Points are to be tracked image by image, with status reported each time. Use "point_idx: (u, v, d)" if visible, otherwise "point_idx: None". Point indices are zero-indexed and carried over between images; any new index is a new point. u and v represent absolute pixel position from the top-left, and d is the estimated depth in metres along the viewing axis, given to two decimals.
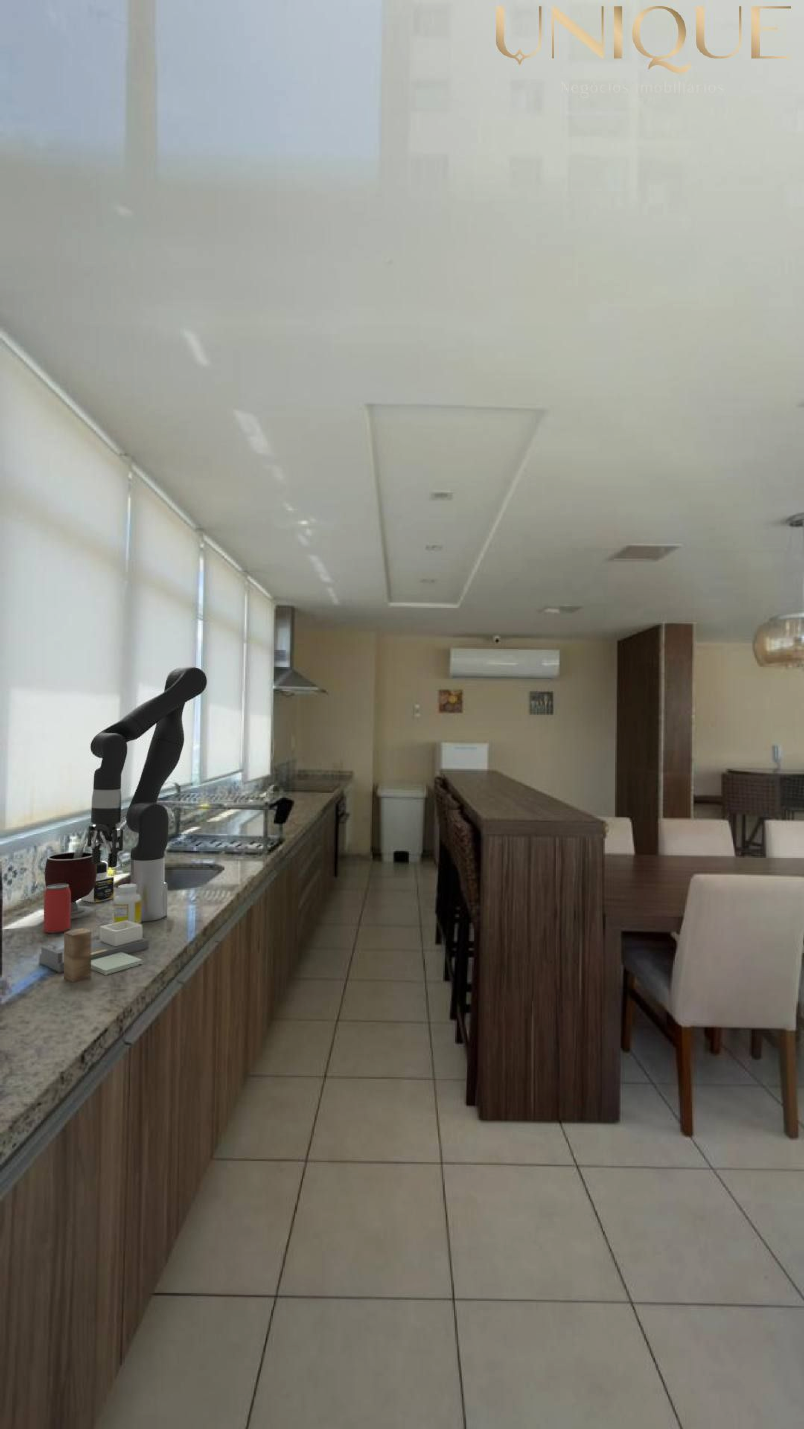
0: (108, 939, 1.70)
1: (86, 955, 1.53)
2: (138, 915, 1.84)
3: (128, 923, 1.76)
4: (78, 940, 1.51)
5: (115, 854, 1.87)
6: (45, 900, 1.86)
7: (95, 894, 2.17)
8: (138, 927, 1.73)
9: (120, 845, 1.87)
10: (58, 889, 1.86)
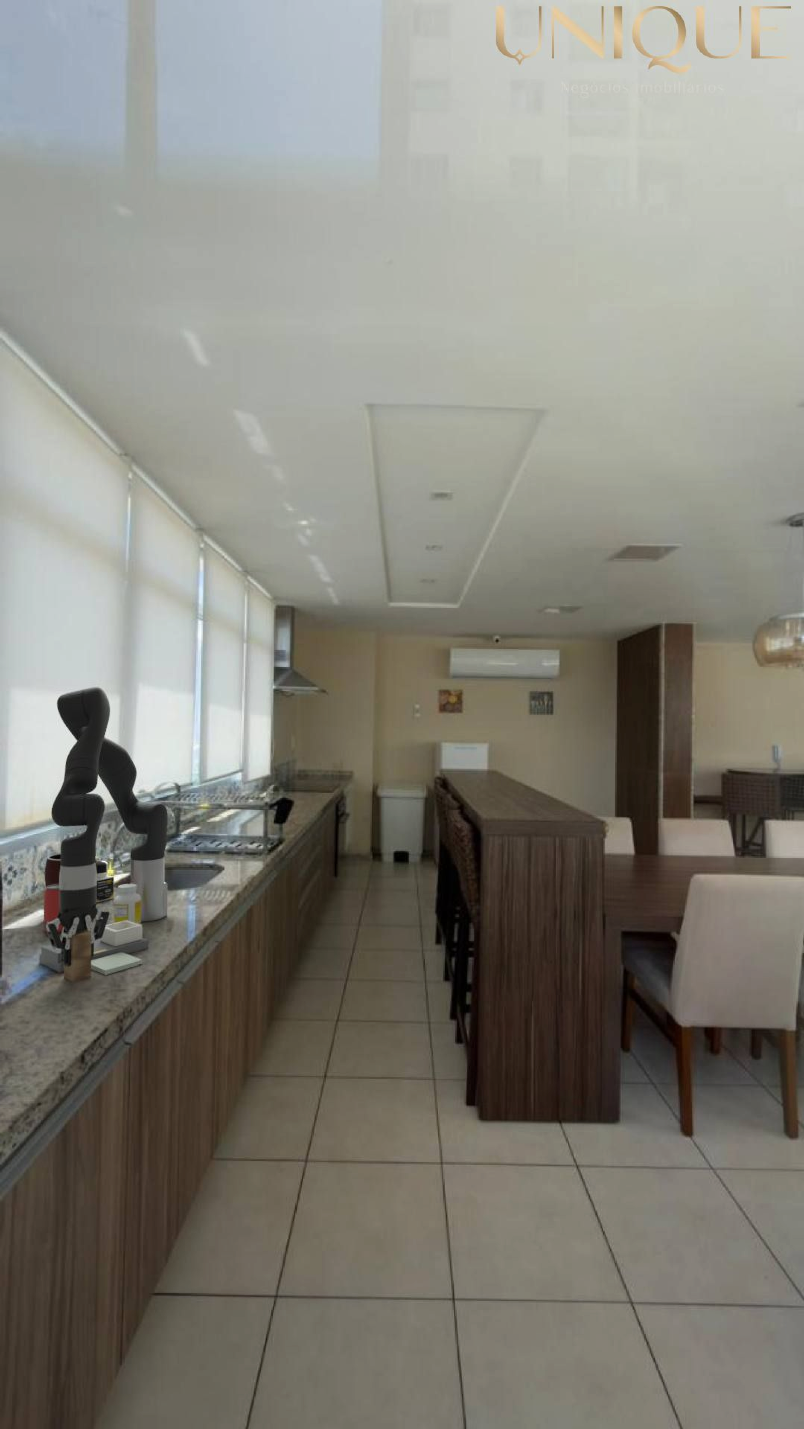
0: (108, 939, 1.70)
1: (86, 955, 1.53)
2: (138, 915, 1.84)
3: (128, 923, 1.76)
4: (78, 940, 1.51)
5: None
6: (45, 900, 1.86)
7: None
8: (138, 927, 1.73)
9: (97, 929, 1.57)
10: (58, 889, 1.86)
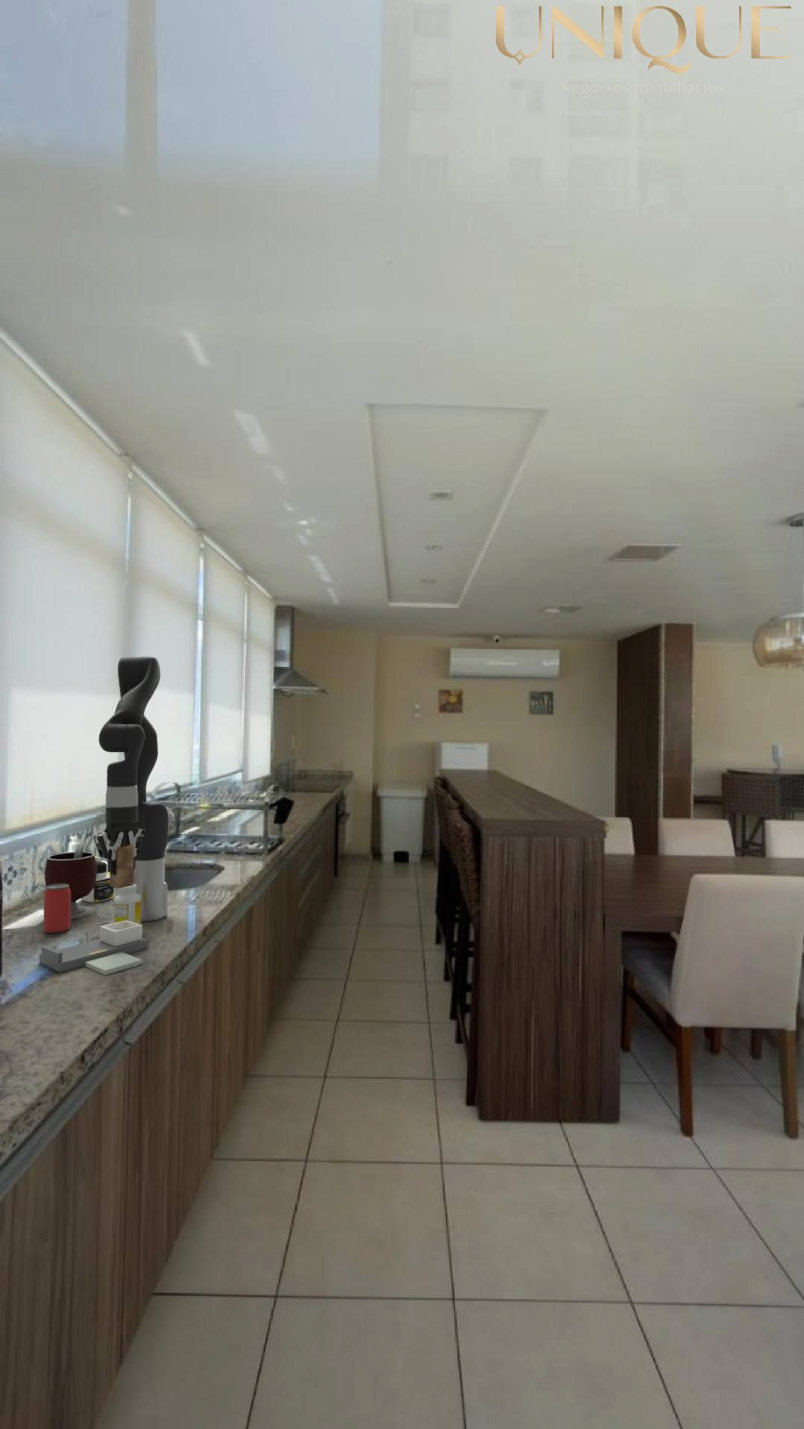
0: (108, 939, 1.70)
1: (129, 866, 1.73)
2: (138, 915, 1.84)
3: (128, 923, 1.76)
4: (122, 852, 1.71)
5: None
6: (45, 900, 1.86)
7: (95, 894, 2.17)
8: (138, 927, 1.73)
9: (138, 846, 1.78)
10: (58, 889, 1.86)
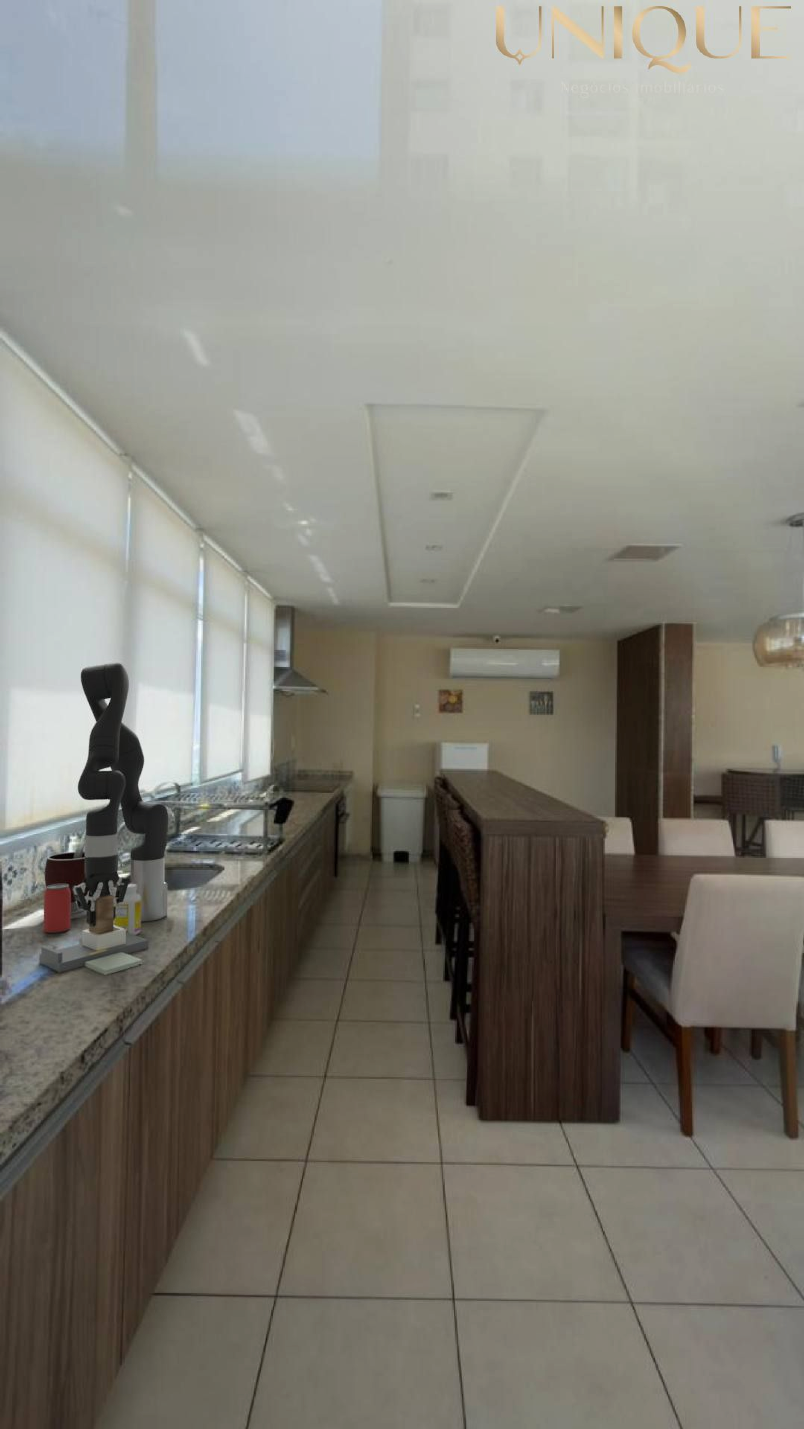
0: (90, 943, 1.66)
1: (109, 916, 1.68)
2: (138, 915, 1.84)
3: None
4: (102, 903, 1.67)
5: None
6: (45, 900, 1.86)
7: None
8: (121, 931, 1.69)
9: (118, 895, 1.73)
10: (58, 889, 1.86)
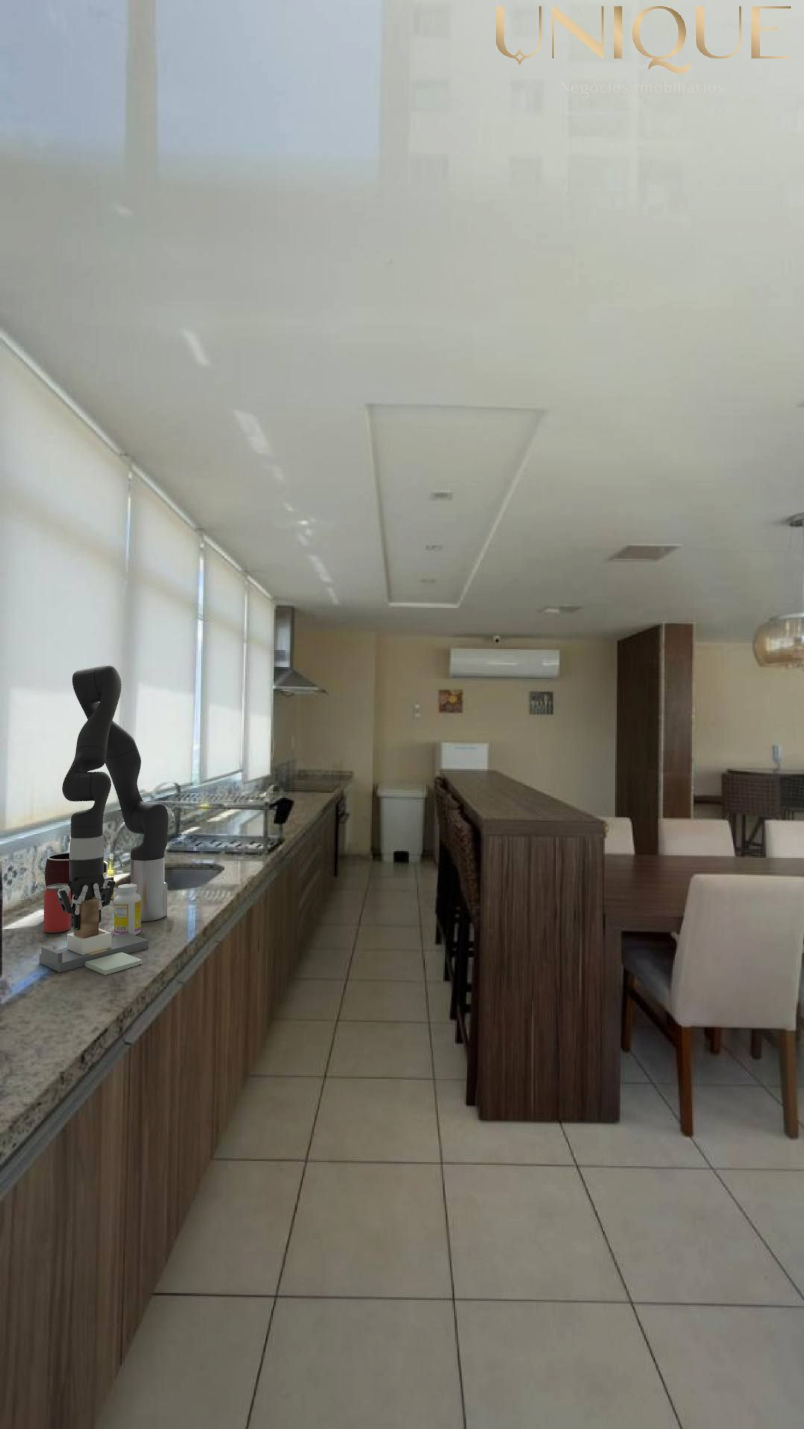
0: (75, 947, 1.63)
1: (94, 920, 1.65)
2: (138, 915, 1.84)
3: None
4: (87, 906, 1.64)
5: None
6: (45, 900, 1.86)
7: None
8: (107, 935, 1.66)
9: (104, 898, 1.70)
10: None
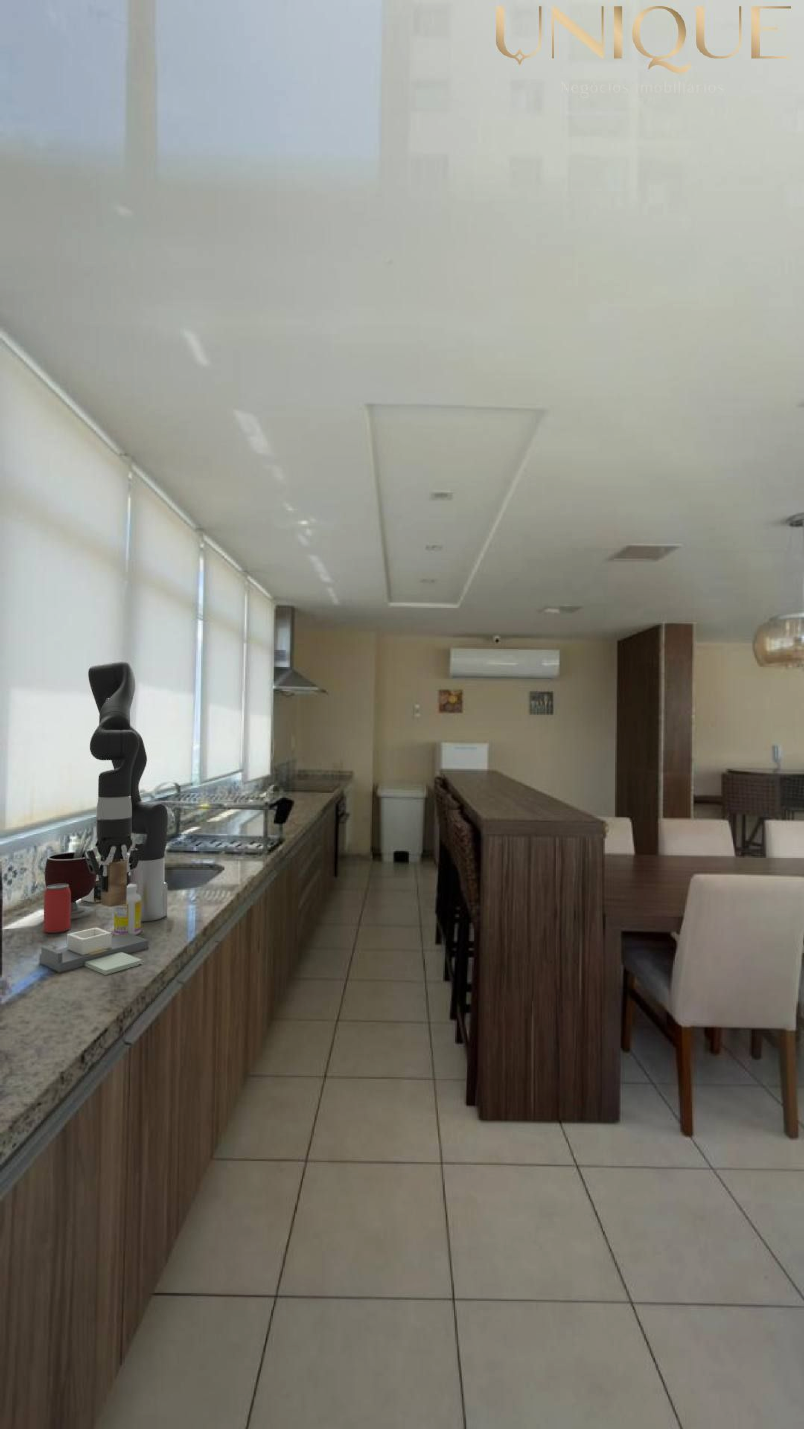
0: (75, 947, 1.63)
1: (122, 882, 1.61)
2: (138, 915, 1.84)
3: (97, 930, 1.70)
4: (114, 868, 1.59)
5: None
6: (45, 900, 1.86)
7: (95, 894, 2.17)
8: (107, 935, 1.66)
9: (132, 861, 1.65)
10: (58, 889, 1.86)
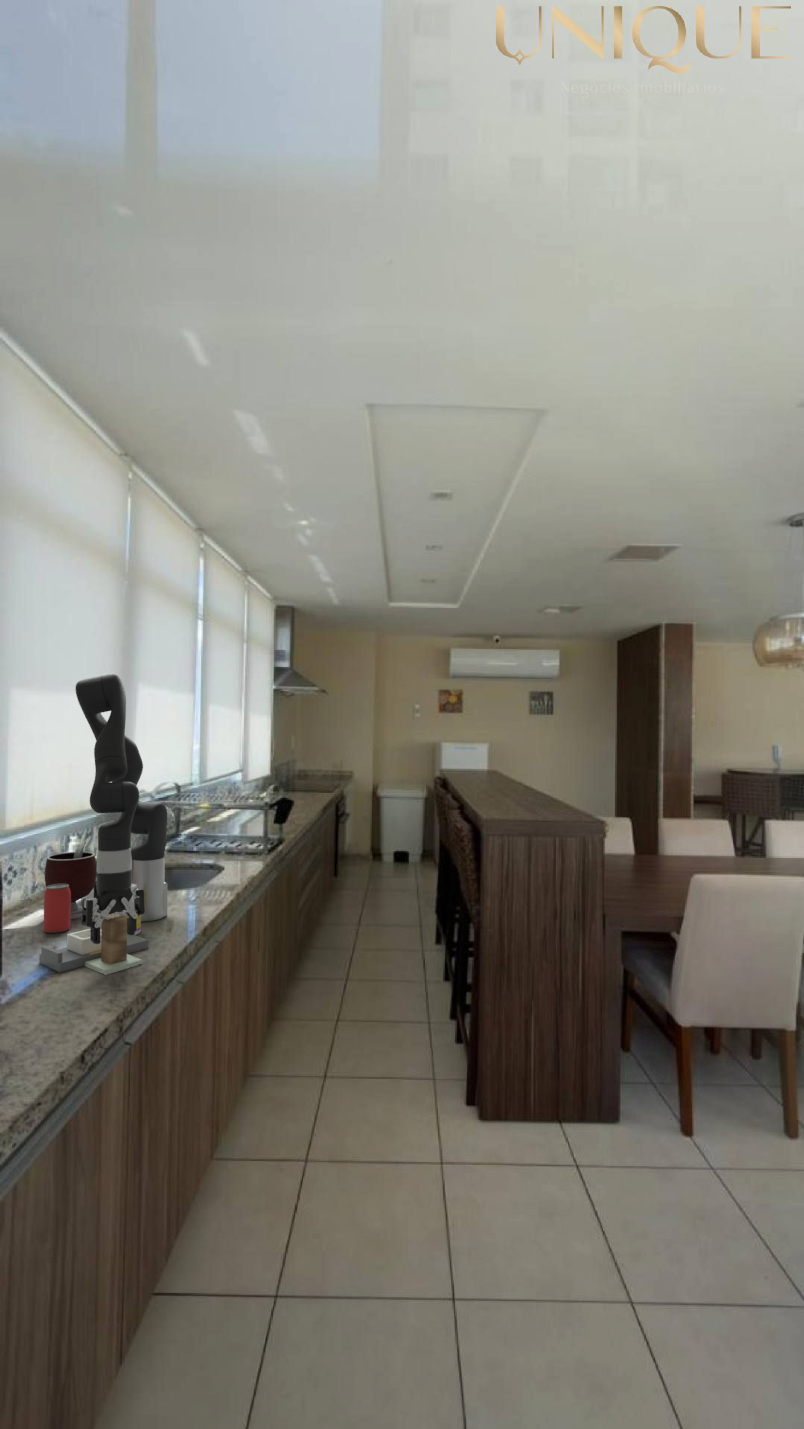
0: (75, 947, 1.63)
1: (123, 939, 1.60)
2: None
3: None
4: (115, 925, 1.59)
5: None
6: (45, 900, 1.86)
7: (95, 894, 2.17)
8: None
9: (138, 906, 1.66)
10: (58, 889, 1.86)
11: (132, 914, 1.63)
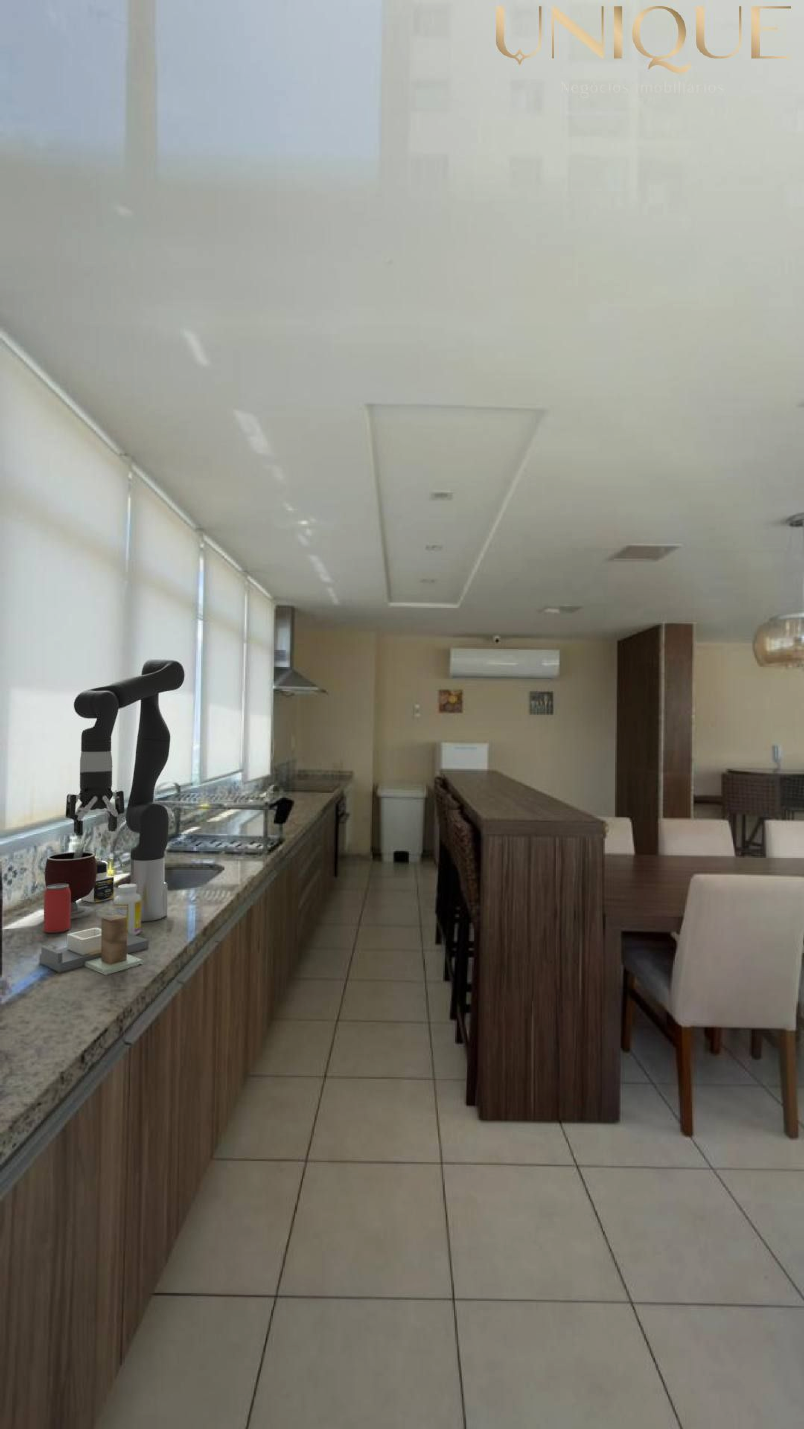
0: (75, 947, 1.63)
1: (123, 939, 1.60)
2: (138, 915, 1.84)
3: (97, 930, 1.70)
4: (115, 925, 1.59)
5: None
6: (45, 900, 1.86)
7: (95, 894, 2.17)
8: None
9: (118, 807, 1.82)
10: (58, 889, 1.86)
11: (113, 812, 1.79)
